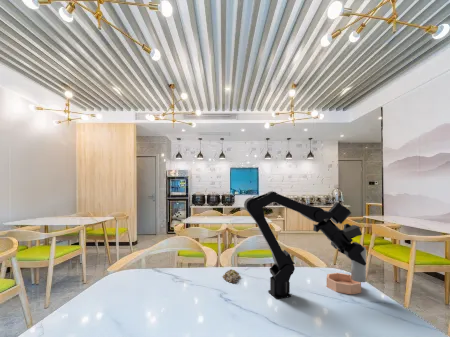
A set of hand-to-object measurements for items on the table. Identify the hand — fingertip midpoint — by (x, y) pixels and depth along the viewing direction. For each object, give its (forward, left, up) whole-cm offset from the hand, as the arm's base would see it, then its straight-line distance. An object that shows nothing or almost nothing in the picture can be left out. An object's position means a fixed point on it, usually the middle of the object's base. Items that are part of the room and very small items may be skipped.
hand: (362, 262), depth 96 cm
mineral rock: (-42, +31, -13) cm, 54 cm away
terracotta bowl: (-1, +8, -12) cm, 15 cm away
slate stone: (-1, +1, -7) cm, 7 cm away
